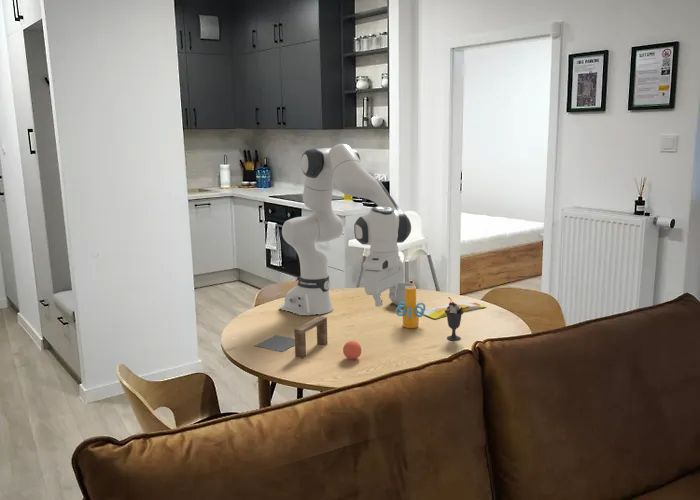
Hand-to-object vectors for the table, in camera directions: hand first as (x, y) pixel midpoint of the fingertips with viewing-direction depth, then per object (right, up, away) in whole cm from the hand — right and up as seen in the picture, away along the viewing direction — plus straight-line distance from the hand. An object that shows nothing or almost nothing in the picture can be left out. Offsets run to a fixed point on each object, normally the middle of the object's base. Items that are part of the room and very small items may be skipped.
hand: (385, 302), depth 196 cm
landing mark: (-36, -16, +22) cm, 46 cm away
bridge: (-24, -18, +15) cm, 34 cm away
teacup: (+11, -6, +67) cm, 68 cm away
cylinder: (+12, -12, +38) cm, 41 cm away
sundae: (+25, -15, +24) cm, 38 cm away
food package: (+30, -9, +55) cm, 64 cm away
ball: (-11, -16, +7) cm, 20 cm away
